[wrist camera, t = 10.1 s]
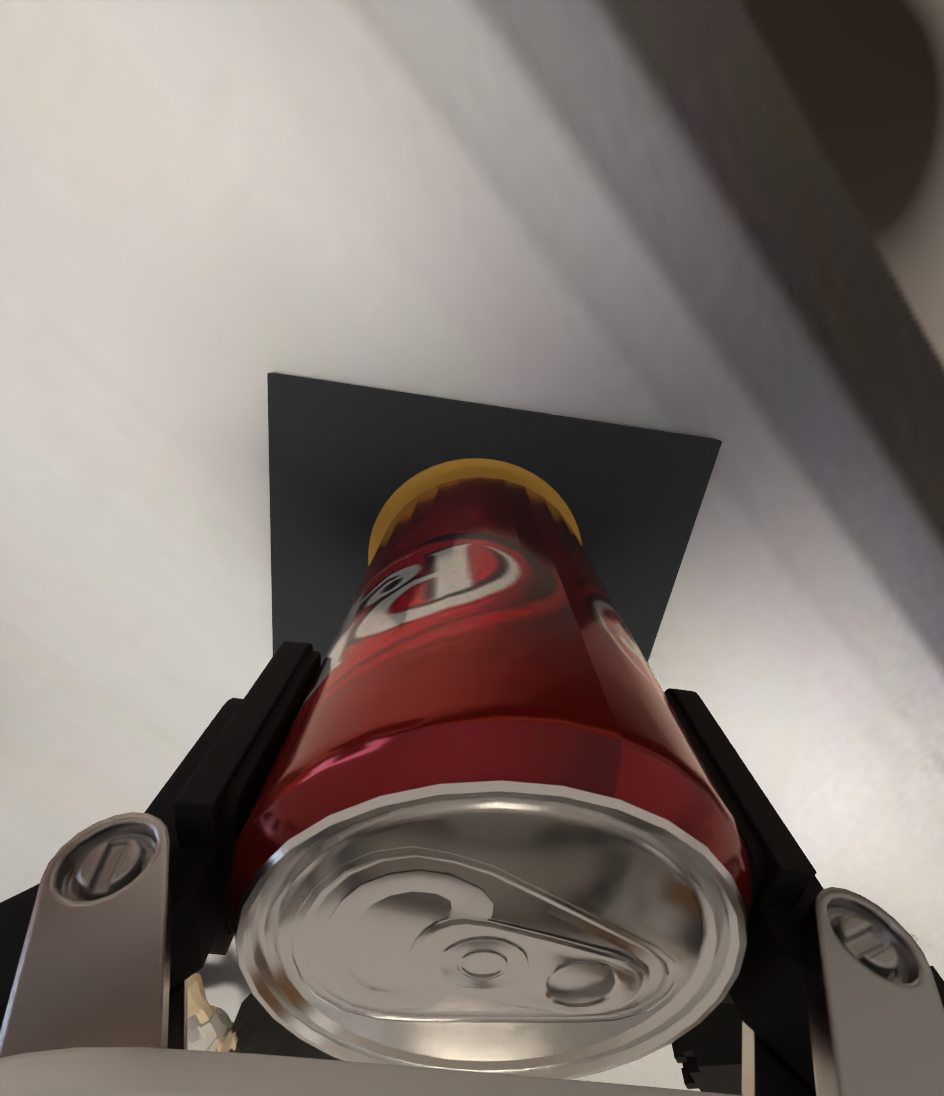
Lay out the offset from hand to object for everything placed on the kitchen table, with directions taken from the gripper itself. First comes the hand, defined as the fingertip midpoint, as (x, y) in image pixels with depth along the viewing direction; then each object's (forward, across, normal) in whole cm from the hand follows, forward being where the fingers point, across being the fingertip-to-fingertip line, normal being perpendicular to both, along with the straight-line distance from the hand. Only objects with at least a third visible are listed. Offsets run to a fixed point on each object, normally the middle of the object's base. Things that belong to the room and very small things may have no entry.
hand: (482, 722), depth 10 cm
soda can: (+8, 0, 0) cm, 8 cm away
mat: (+9, 0, 0) cm, 9 cm away
